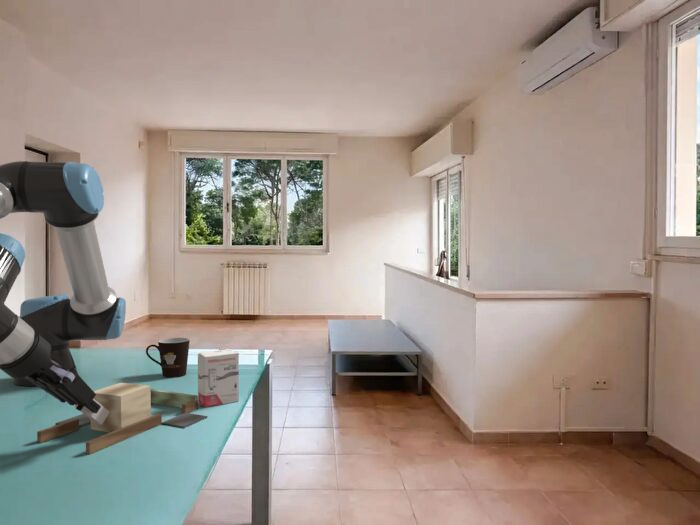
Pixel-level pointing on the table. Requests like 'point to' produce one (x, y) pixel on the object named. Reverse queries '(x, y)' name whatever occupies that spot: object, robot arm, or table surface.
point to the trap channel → (157, 397)
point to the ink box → (218, 377)
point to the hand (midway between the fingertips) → (103, 417)
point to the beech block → (123, 405)
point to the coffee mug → (172, 356)
